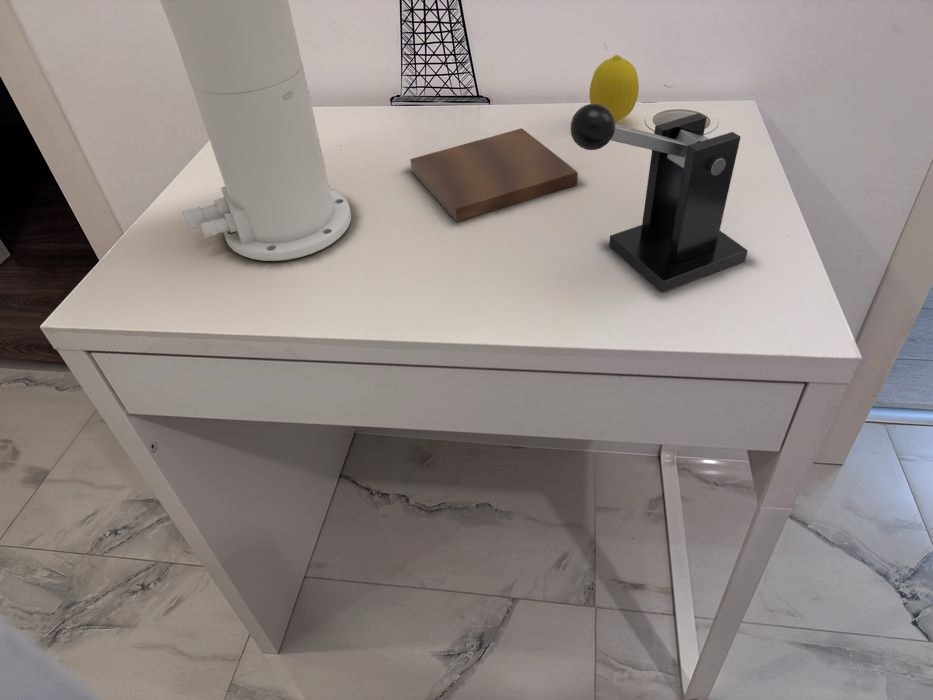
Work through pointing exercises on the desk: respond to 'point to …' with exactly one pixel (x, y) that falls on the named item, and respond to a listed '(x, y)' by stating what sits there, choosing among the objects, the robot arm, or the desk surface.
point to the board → (492, 173)
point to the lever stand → (684, 211)
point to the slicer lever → (625, 134)
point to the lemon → (615, 86)
